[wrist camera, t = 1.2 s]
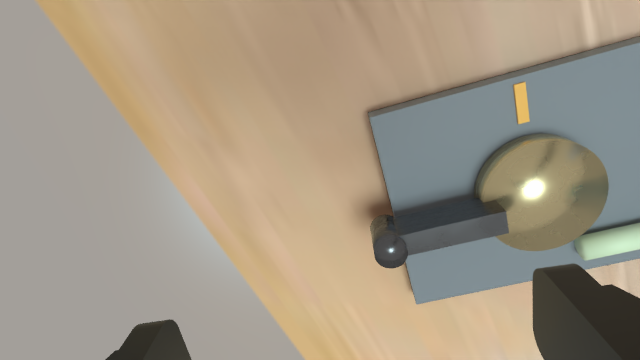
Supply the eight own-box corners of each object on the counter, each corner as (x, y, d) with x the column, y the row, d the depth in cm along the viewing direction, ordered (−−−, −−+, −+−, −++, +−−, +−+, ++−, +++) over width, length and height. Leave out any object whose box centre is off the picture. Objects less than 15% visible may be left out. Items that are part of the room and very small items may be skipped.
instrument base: (660, 30, 28) (709, 30, 25) (657, 238, 34) (697, 264, 31) (367, 112, 31) (371, 123, 28) (412, 290, 37) (420, 319, 34)
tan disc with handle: (589, 119, 29) (634, 135, 24) (594, 224, 32) (635, 255, 27) (356, 179, 31) (359, 203, 27) (382, 271, 34) (388, 306, 30)
